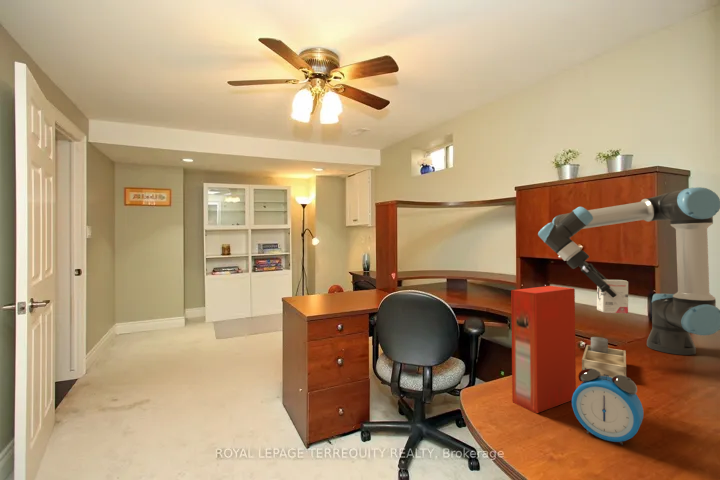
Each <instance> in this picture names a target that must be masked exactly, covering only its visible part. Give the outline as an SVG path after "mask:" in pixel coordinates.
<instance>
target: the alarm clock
mask: <svg viewBox="0 0 720 480" xmlns="http://www.w3.org/2000/svg"><path fill="white" fill-rule="evenodd" d="M577 376H578V380H579V382H581V383H580V385H578V386H577V387H576V390H575V392H574V394H573V396H572V400H571V408H572V410H573V413H574V416H575V417H576V419H577V420H578V422H579V423H580V424H581V425H582V427H583V428H584V429H586V434H589V433H590V434H592V435H594V436H595V437H596V438H599V439H602V440H603V441H608V442H614V443H619V444H620V445H621V446H623V447H624V444H623V442H626V441H628V440H630V439H633V438H634V436H635V435H636V434H637V433H638V431H639V429H640V427H641V425H642V423H643V420H644V408H643V404H642V401H641V400H640V398H639V396H638V395H637V393H638V386H637V384H636V382H634V380H633V379H632V378H630V377H628V376H627V375H626V376H623V375H615V376H614V377H613V378H611V377H609V375H606V374H604V376H601V374H600V372H599V371H598V370H596V369H593V368H587V369H586V368H585V369H584V370H582V369H581V371H580V372H579V374H578V375H577ZM607 376H608V377H607Z"/></svg>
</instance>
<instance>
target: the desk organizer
mask: <svg viewBox="0 0 720 480" xmlns="http://www.w3.org/2000/svg"><path fill="white" fill-rule="evenodd" d="M626 353H627V352H626V350H625V349H624V350H622V349H616V348H612V347H611V348H610V347H609V340H608V338H604V337H601V336H591V337H590V344H586V346H585V349H584V352H583V355H582V358H581V371H582V370H584V369H585V368H586V369H587V368H593V369H596V370H598V371H599V372H600V374H601V376H604V374H606V375H609V377H611V378H613V377H614V376H615V375H623V376H626V377H627V356H626V355H627V354H626ZM607 377H608V376H607Z"/></svg>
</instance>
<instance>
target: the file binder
mask: <svg viewBox="0 0 720 480" xmlns="http://www.w3.org/2000/svg"><path fill="white" fill-rule="evenodd" d="M510 293H511V294H510V295H511V296H510V297H511V301H510V302H511V303H510V305H511V309H510V311H511V378H512V380H511V381H512V383H511V385H512V386H511V390H512V392H511V393H512V398H511V399H512V403H514V404H516V405H518V406H520V407H521V408H524V409H526V410H528V411H530V412H533V413H535V414H539V413H541V412H544V411H547V410H549V409H553V408H554V407H557V406H559V405H563V404H565V403H568V402H570V401H571V402H572V396H573V394H574V392H575V390H576V389H577V385H576V384H577V382H576V381H577V380H576V379H577V377H576V376H577V375H576V373H577V372H576V370H577V369H576V362H577V361H576V360H577V359H576V292H575V288H572V287H565V286H557V285H556V286H555V285H546V286H538V287H529V288H528V287H527V288H521V289H520V288H519V289H511V290H510Z"/></svg>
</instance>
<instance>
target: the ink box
mask: <svg viewBox="0 0 720 480" xmlns="http://www.w3.org/2000/svg"><path fill="white" fill-rule="evenodd" d="M604 281H605V282H606V283H607V284H608V285H609V286H610V287H612V288H613V289H614V290H615V291H616V292H617V293H618V294H619V295H620V296H622V297H623V298H624V299H625V300H626V302H625V303H623V304H622V305H620V306H619V305H618V304H617V303H616V302H615V301H614V300H613V299H612V298H611V297H609V296H608V295H607V294H606V293H605V292H603V293H602V292H601V289H600V288H599V287H598V286H597V285H596V288H597V289H596V310H597V311H600V312H602V313H604V314H605V313H609V314H611V313H612V314H629V281H627V280H623V279H608V280H604Z"/></svg>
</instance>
